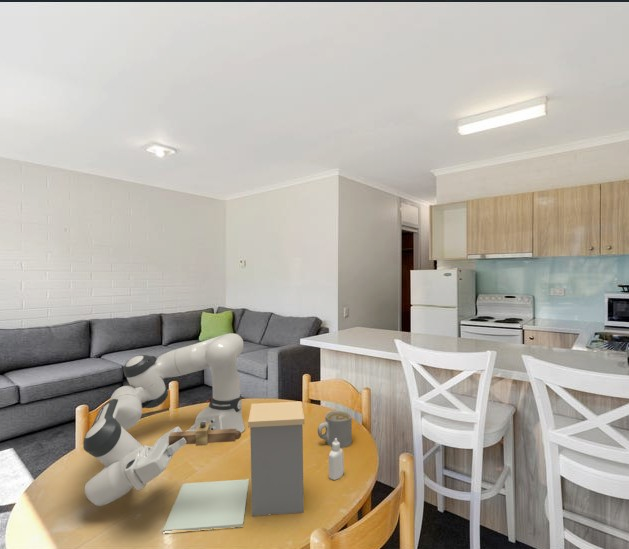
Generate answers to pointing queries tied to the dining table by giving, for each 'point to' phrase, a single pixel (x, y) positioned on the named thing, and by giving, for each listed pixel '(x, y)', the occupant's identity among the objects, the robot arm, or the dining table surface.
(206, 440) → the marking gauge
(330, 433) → the coffee mug
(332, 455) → the eye dropper bottle
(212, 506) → the sage mat
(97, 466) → the dining table surface
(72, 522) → the dining table surface
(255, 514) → the stand
